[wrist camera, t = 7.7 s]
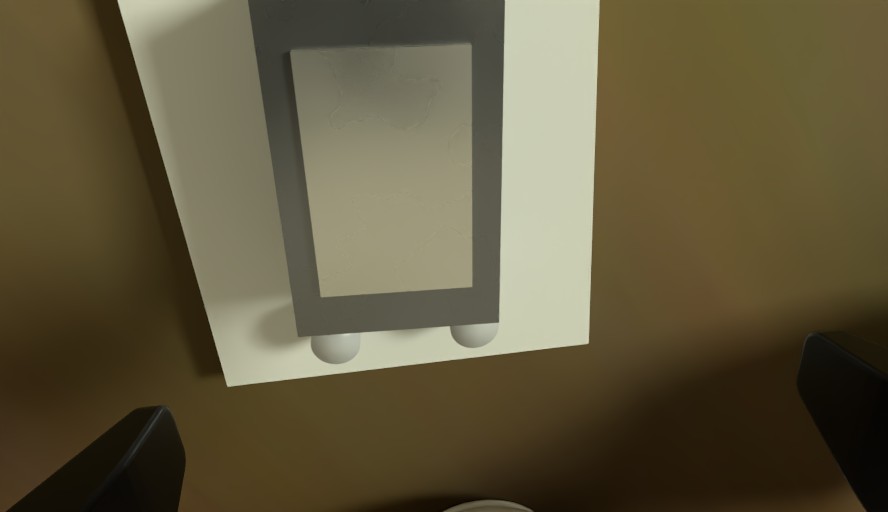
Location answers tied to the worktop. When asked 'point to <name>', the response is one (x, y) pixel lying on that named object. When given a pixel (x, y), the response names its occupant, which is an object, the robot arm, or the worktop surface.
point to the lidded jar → (489, 506)
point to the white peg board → (256, 206)
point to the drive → (386, 158)
